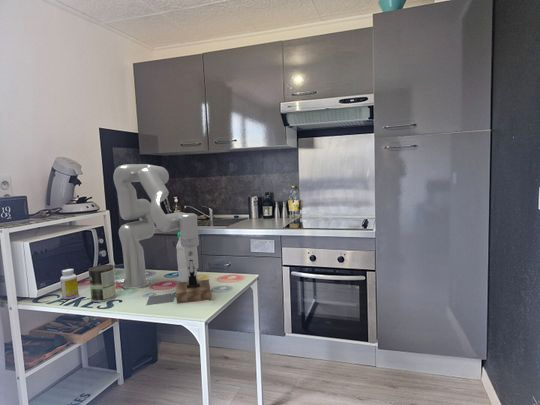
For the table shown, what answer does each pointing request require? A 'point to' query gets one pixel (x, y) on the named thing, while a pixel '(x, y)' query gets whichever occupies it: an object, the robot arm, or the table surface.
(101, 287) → the coffee can
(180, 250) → the water bottle
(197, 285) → the steel peg
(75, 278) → the supplement bottle
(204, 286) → the brown peg hole board
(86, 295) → the table surface
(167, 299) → the rubber mat
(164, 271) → the table surface
